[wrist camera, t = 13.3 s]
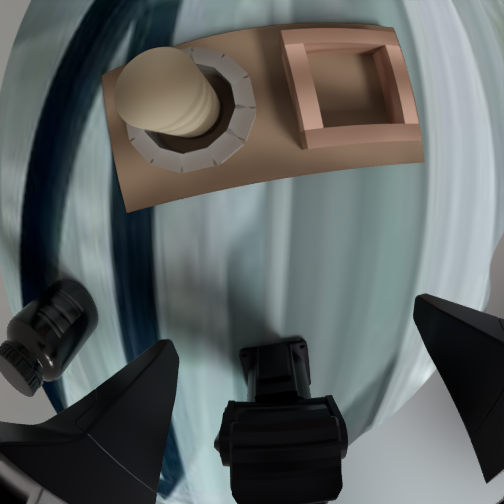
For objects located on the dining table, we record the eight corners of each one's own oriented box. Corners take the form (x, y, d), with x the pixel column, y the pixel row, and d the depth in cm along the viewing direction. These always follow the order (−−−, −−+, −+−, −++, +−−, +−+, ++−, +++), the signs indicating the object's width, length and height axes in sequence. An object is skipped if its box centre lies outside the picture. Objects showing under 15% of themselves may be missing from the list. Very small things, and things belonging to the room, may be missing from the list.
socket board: (417, 161, 19) (442, 164, 15) (133, 209, 21) (111, 220, 17) (387, 32, 15) (406, 17, 11) (108, 78, 17) (85, 68, 13)
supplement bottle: (44, 282, 23) (-24, 339, 12) (83, 272, 23) (5, 341, 12) (69, 333, 26) (16, 399, 14) (110, 330, 25) (55, 411, 14)
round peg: (227, 131, 17) (206, 113, 10) (173, 145, 18) (121, 141, 10) (217, 80, 16) (190, 35, 9) (164, 95, 16) (110, 66, 9)
